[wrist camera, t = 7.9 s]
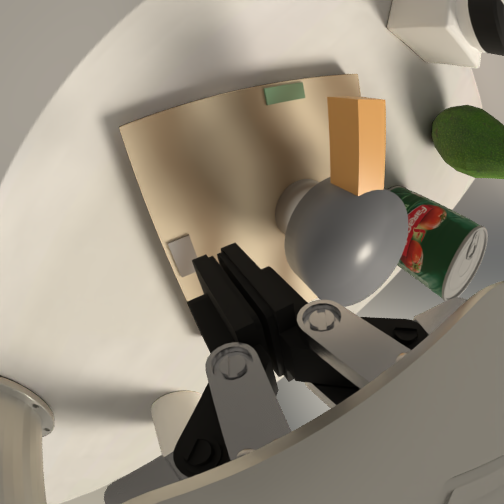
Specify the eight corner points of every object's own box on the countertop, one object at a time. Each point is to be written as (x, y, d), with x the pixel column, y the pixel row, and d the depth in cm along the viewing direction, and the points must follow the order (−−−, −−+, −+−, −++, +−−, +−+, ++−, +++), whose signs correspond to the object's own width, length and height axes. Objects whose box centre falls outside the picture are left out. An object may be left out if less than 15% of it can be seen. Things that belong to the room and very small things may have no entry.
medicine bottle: (425, 63, 22) (522, 79, 13) (384, 28, 19) (497, 29, 9) (433, 17, 20) (523, 24, 10) (394, -19, 16) (495, -27, 7)
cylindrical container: (162, 387, 29) (250, 601, 8) (216, 393, 32) (313, 573, 12) (143, 419, 30) (211, 601, 10) (193, 423, 34) (268, 583, 14)
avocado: (442, 169, 31) (520, 205, 21) (412, 148, 27) (507, 185, 17) (457, 115, 28) (536, 141, 18) (429, 86, 24) (524, 108, 14)
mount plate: (205, 336, 27) (223, 379, 23) (119, 126, 16) (115, 133, 12) (358, 264, 31) (391, 291, 27) (345, 74, 20) (394, 75, 16)
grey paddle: (372, 261, 23) (398, 281, 20) (287, 296, 21) (310, 324, 18) (380, 96, 16) (417, 101, 13) (272, 99, 14) (305, 101, 11)
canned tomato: (403, 244, 34) (470, 290, 25) (359, 256, 31) (433, 313, 22) (417, 184, 30) (494, 222, 21) (372, 186, 27) (463, 232, 18)
